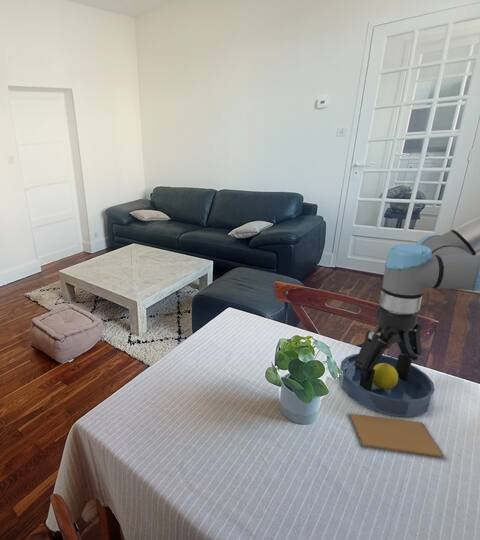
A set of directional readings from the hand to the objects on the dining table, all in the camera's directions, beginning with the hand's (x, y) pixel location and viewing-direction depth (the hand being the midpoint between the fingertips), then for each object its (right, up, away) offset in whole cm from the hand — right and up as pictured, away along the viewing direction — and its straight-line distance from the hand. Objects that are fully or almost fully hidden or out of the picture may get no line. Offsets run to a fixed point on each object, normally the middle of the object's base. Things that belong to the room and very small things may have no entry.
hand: (383, 382), depth 89 cm
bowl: (0, -2, +1) cm, 2 cm away
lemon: (0, -2, +1) cm, 2 cm away
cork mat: (-7, -8, -12) cm, 16 cm away
